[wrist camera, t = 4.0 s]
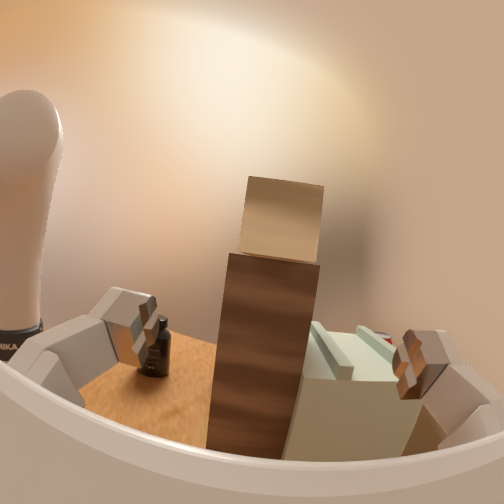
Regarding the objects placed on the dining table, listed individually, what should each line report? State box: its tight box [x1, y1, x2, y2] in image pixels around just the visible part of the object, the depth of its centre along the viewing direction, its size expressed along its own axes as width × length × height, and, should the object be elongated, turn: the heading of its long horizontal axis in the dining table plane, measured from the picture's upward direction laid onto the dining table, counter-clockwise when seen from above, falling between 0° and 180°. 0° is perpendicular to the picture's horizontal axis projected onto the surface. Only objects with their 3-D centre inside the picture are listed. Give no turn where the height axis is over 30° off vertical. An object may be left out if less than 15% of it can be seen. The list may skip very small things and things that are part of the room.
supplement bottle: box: [138, 314, 171, 377], centre depth 53 cm, size 7×7×12 cm
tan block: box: [238, 176, 324, 262], centre depth 25 cm, size 24×4×4 cm, turn 176°
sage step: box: [281, 321, 423, 462], centre depth 28 cm, size 18×12×19 cm, turn 176°
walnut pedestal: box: [206, 253, 320, 460], centre depth 29 cm, size 16×7×26 cm, turn 176°
